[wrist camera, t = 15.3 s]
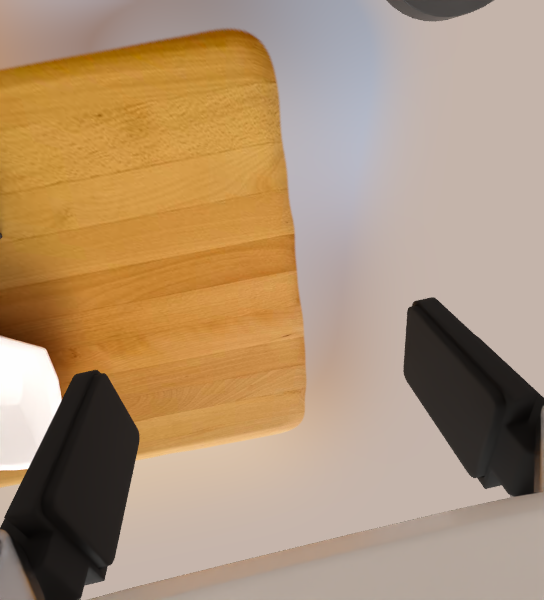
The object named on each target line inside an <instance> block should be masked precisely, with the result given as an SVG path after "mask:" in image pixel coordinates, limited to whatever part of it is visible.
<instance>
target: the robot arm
mask: <svg viewBox="0 0 544 600" xmlns="http://www.w3.org/2000/svg"><path fill="white" fill-rule="evenodd" d="M404 376H405V378H406V380H407V382H408V384H409V385H410V387H411V388H412V390H413V391H414V393H415V394H416V396H417V397H418V399H419V400H420V402H421V403H422V405H423V406H424V408H425V409H426V411H427V412H428V413H429V415H430V417H431V418H432V420H433V421H434V423H435V424H436V426H437V427H438V428H439V430H440V432H441V433H442V435H443V436H444V438H445V439H446V441H447V442H448V444H449V445H450V447H451V448H452V450H453V451H454V453H455V454H456V455H457V457H458V459H459V460H460V462H461V463H462V465H463V466H464V468H465V469H466V470H467V472H468V473H469V475H470V476H471V477H473V478H478V479H479V481H480V482H481V484H482V485H483V487H484V488H485V489H487V488H491V487H495V486H500V485H502V486H503V487H504V489H505V490H506V491H507V493H508V494H510V496H511V497H510V498H507V499H502V500H497V501H493V502H488V503H483V504H479V505H475V506H470V507H465V508H460V509H456V510H451V511H447V512H443V513H439V514H434V515H430V516H426V517H421V518H417V519H413V520H409V521H405V522H400V523H396V524H392V525H388V526H384V527H379V528H375V529H371V530H367V531H363V532H358V533H354V534H350V535H346V536H341V537H337V538H333V539H329V540H325V541H321V542H317V543H312V544H308V545H304V546H300V547H296V548H292V549H288V550H283V551H279V552H275V553H271V554H267V555H263V556H259V557H255V558H251V559H247V560H243V561H238V562H234V563H230V564H226V565H222V566H218V567H214V568H210V569H206V570H202V571H198V572H194V573H190V574H186V575H182V576H178V577H174V578H170V579H165V580H161V581H157V582H153V583H149V584H145V585H141V586H137V587H133V588H129V589H126V590H122V591H118V592H115V593H111V594H107V595H103V596H99V597H96V598H92V599H89V600H544V398H543V397H542V396H541V395H540V394H539V393H538V392H537V391H536V390H535V389H534V388H533V387H531V386H530V385H529V384H528V383H527V382H526V381H525V380H524V379H523V378H522V377H521V376H520V375H519V374H517V373H516V372H515V371H514V370H513V369H512V368H511V367H510V366H509V365H508V364H507V363H506V362H505V361H503V360H502V359H501V358H500V357H499V356H498V355H497V354H496V353H495V352H494V351H493V350H492V349H491V348H489V347H488V346H487V345H486V344H485V343H484V342H483V341H482V340H481V339H480V338H479V337H477V336H476V335H475V334H473V333H472V332H471V331H470V330H469V329H468V328H467V327H466V326H465V325H464V324H463V323H461V322H460V321H459V320H458V319H457V318H456V317H455V316H454V315H453V314H452V313H451V312H450V311H448V309H447V308H445V307H444V306H443V305H442V304H441V303H440V302H439V301H438V300H437V299H435V298H427V299H423V300H418V301H415V302H413V305H412V307H409V308H408V312H407V326H406V342H405V356H404ZM138 445H139V431H138V429H137V427H136V425H135V424H134V422H133V420H132V418H131V417H130V415H129V413H128V411H127V410H126V408H125V406H124V404H123V403H122V401H121V399H120V397H119V396H118V394H117V392H116V390H115V389H114V387H113V385H112V383H111V382H110V380H109V378H108V376H107V375H106V374H105V373H102V374H101V373H100V372H99V371H98V370H93V371H88V372H84V373H79V374H76V375H74V377H73V378H72V381H71V383H70V385H69V387H68V389H67V391H66V393H65V395H64V397H63V399H62V401H61V403H60V405H59V407H58V409H57V411H56V413H55V415H54V417H53V419H52V421H51V423H50V425H49V427H48V429H47V431H46V433H45V435H44V438H43V440H42V442H41V444H40V446H39V448H38V450H37V452H36V454H35V456H34V458H33V460H32V462H31V464H30V466H29V468H28V470H27V472H26V474H25V476H24V478H23V480H22V482H21V484H20V486H19V488H18V490H17V493H16V495H15V497H14V499H13V501H12V503H11V505H10V507H9V509H8V511H7V513H6V515H5V517H4V518H5V519H4V521H3V523H2V525H1V527H0V600H81V599H80V598H81V596H82V592H83V588H84V585H88V584H93V583H97V582H101V581H104V580H105V575H106V571H107V566H109V565H111V564H112V563H113V560H114V558H115V554H116V549H117V544H118V540H119V535H120V530H121V525H122V521H123V516H124V511H125V507H126V502H127V497H128V492H129V488H130V483H131V478H132V474H133V469H134V464H135V459H136V455H137V450H138Z"/></svg>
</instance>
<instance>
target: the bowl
mask: <svg viewBox="0 0 544 600" xmlns="http://www.w3.org/2000/svg"><path fill="white" fill-rule="evenodd" d="M61 401H62V397H61V391H60V385H59V380H58V377H57V374H56V372H55V369H54V367H53V364H52V362H51V359H50V357H49V355H48V352H47V350H46V349H45V348H43V347H40V346H37V345H33V344H29V343H26V342H22V341H18V340H15V339H11V338H7V337H4V336H0V470H21V469H28V468H29V466H30V464H31V462H32V460H33V458H34V456H35V454H36V452H37V450H38V448H39V446H40V444H41V442H42V440H43V438H44V435H45V433H46V431H47V429H48V427H49V425H50V423H51V421H52V419H53V417H54V415H55V413H56V411H57V409H58V407H59V405H60V403H61Z"/></svg>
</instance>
